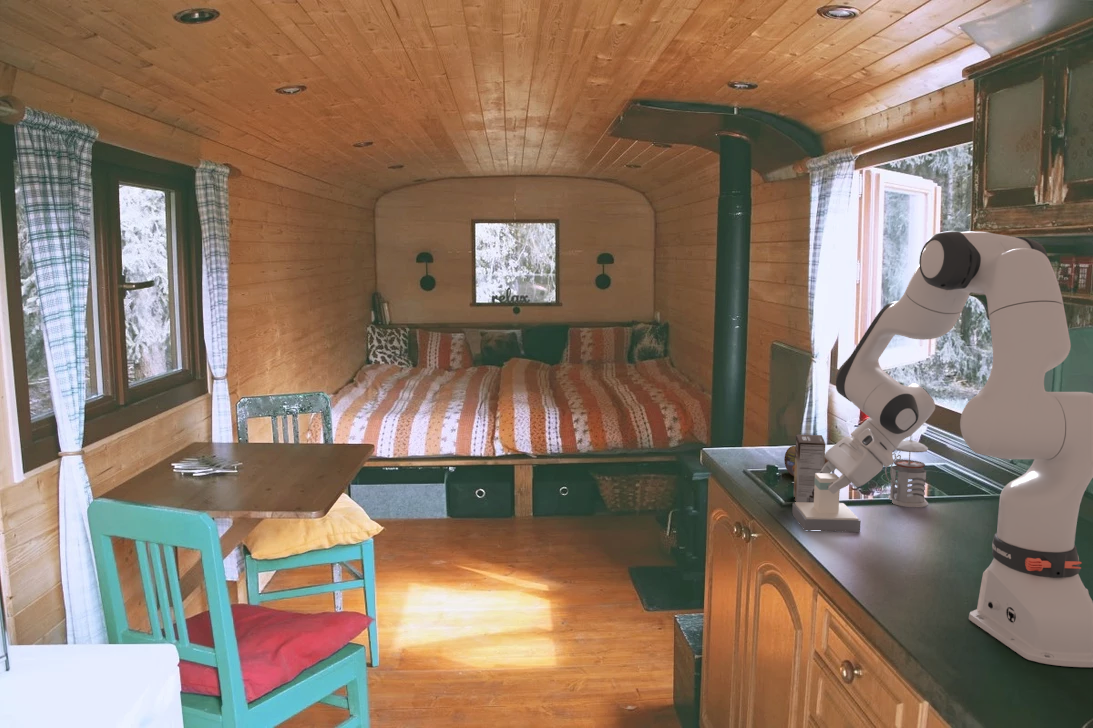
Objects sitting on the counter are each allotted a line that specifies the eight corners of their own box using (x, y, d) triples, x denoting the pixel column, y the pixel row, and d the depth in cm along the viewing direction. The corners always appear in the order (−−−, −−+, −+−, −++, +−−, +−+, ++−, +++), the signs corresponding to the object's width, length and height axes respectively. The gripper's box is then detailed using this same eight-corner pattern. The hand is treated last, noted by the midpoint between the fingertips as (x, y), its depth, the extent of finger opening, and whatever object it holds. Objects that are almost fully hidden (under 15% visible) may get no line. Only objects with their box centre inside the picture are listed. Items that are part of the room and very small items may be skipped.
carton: (838, 513, 187) (840, 478, 185) (818, 512, 187) (820, 478, 186) (833, 507, 191) (834, 473, 190) (813, 506, 191) (814, 473, 190)
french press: (937, 504, 203) (944, 404, 200) (901, 509, 199) (907, 407, 196) (906, 493, 212) (913, 397, 209) (871, 498, 208) (876, 400, 205)
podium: (860, 532, 183) (860, 518, 183) (804, 530, 184) (805, 517, 183) (844, 515, 195) (844, 502, 195) (792, 513, 196) (792, 501, 195)
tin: (782, 472, 233) (784, 442, 232) (791, 471, 234) (793, 441, 233) (821, 486, 219) (823, 454, 218) (830, 484, 221) (832, 453, 219)
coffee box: (792, 495, 210) (795, 433, 208) (818, 497, 209) (821, 434, 207) (795, 506, 201) (798, 441, 199) (823, 508, 200) (826, 443, 198)
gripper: (847, 424, 196) (803, 463, 198) (875, 443, 176) (826, 487, 178) (865, 442, 197) (821, 482, 199) (896, 464, 177) (846, 508, 178)
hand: (824, 484), depth 188 cm, fingers open, 8 cm apart
